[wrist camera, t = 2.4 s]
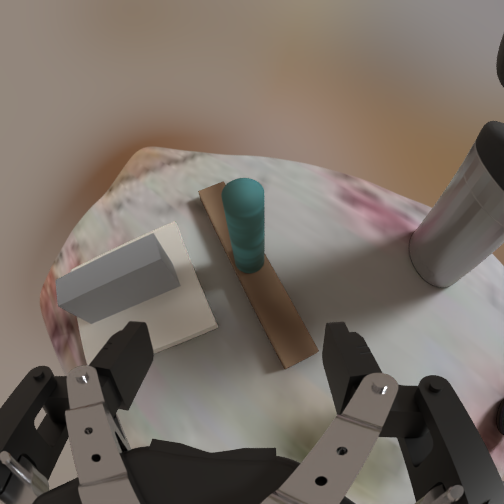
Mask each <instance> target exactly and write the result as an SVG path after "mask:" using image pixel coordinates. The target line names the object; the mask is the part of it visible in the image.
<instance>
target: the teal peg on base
mask: <svg viewBox="0 0 504 504" xmlns="http://www.w3.org/2000/svg"><path fill="white" fill-rule="evenodd" d="M198 192H199V195H200V199H201V201H202V203H203V205H204V207H205V210H206V212H207V214H208V216H209V218H210V220H211V222H212V224H213V227H214V229H215V231H216V233H217V235H218V237H219V239H220V241H221V243H222V245H223V247H224V250H225V252H226V254H227V256H228V258H229V260H230V262H231V264H232V266H233V268H234V270H235V272H236V274H237V276H238V278H239V280H240V282H241V284H242V286H243V288H244V290H245V292H246V294H247V296H248V298H249V300H250V302H251V304H252V306H253V308H254V310H255V312H256V314H257V316H258V318H259V320H260V322H261V324H262V326H263V328H264V330H265V332H266V334H267V336H268V338H269V340H270V342H271V344H272V346H273V348H274V350H275V352H276V354H277V356H278V357H279V359H280V361H281V363H282V365H283V367H284V369H287V368H289V367H291V366H293V365H295V364H297V363H299V362H301V361H302V360H304V359H306V358H308V357H310V356H312V355H314V354H316V353H317V352H319V350H318V348H317V347H316V345H315V343H314V341H313V339H312V338H311V336H310V334H309V332H308V330H307V328H306V327H305V325H304V323H303V321H302V319H301V318H300V316H299V314H298V312H297V310H296V309H295V307H294V305H293V303H292V301H291V300H290V298H289V296H288V294H287V292H286V291H285V289H284V287H283V285H282V283H281V282H280V280H279V278H278V276H277V275H276V273H275V271H274V269H273V267H272V266H271V264H270V262H269V260H268V258H267V257H266V255H265V253H264V189H263V187H262V186H261V184H260V183H258V182H257V181H255V180H253V179H249V178H239V179H235V180H233V181H231V182H229V183H228V184H227V185H225V183H224V181H223V182H221V183H218V184H216V185H213V186H210V187H208V188H205V189H203V190H200V191H198Z"/></svg>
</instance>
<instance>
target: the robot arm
mask: <svg viewBox="0 0 504 504" xmlns="http://www.w3.org/2000/svg"><path fill="white" fill-rule="evenodd" d="M496 67H497V75H498V78H499V80H500V83H501V85H502V86H503V87H504V34H503V37H502V40H501V43H500V47H499V51H498V56H497V66H496ZM503 243H504V123H501V122H497V121H490V122H488V123H486V124H485V125H484V127H483V128H482V130H481V132H480V133H479V135H478V137H477V139H476V141H475V143H474V144H473V146H472V148H471V149H470V151H469V153H468V155H467V156H466V158H465V160H464V162H463V163H462V165H461V166H460V168H459V170H458V171H457V173H456V175H455V176H454V177H453V179H452V181H451V182H450V184H449V185H448V187H447V188H446V190H445V191H444V192H443V194H442V196H441V197H440V198H439V200H438V201H437V203H436V204H435V206H434V207H433V208H432V210H431V211H430V212H429V214H428V215H427V216H426V218H425V219H424V220H423V222H422V223H421V224H420V226H419V227H418V228H417V229H416V231H415V232H414V233H413V235H412V237H411V239H410V244H409V251H410V257H411V260H412V262H413V265H414V267H415V268H416V270H417V272H418V273H419V274H420V275H421V277H422V278H424V279H425V280H426V281H427V282H428V283H430V284H432V285H434V286H436V287H442V288H444V287H449V286H451V285H453V284H454V283H455V282H457V281H458V280H459V279H461V278H462V277H463V276H465V275H466V274H467V273H469V272H470V271H471V270H472V269H474V268H475V267H476V266H477V265H479V264H480V263H481V262H482V261H483V260H485V259H486V258H487V257H488V256H489V255H490V254H492V253H493V252H494V251H495V250H496V249H497V248H498V247H499V246H500V245H502V244H503ZM153 357H154V352H153V347H152V343H151V339H150V335H149V331H148V327H147V324H146V323H145V322H137V321H129V322H128V323H127V325H126V326H125V327H124V328H123V330H122V331H121V330H120V331H118V332H117V333H115V334H114V335H112V336H111V337H110V338H109V340H108V341H107V342H106V344H105V345H104V346H103V347H102V349H101V350H100V351H99V352H98V354H97V355H96V356H95V358H94V359H93V360H92V362H91V363H90V364H89V365H88V366H86V365H84V366H79V367H76V368H74V369H72V370H71V371H70V372H69V373H68V375H67V376H54V375H53V373H52V371H51V369H50V368H49V367H47V366H39V367H36V368H34V369H32V370H31V371H30V372H29V373H28V374H27V375H26V376H25V378H24V379H23V380H22V381H21V382H20V384H19V385H18V386H17V387H16V389H15V390H14V391H13V393H12V394H11V395H10V396H9V398H8V399H7V401H6V402H5V403H4V404H3V406H2V407H1V408H0V504H355V503H354V502H352V501H351V500H349V499H348V498H347V497H345V495H346V493H347V491H348V490H349V488H350V487H351V485H352V484H353V482H354V480H355V479H356V477H357V475H358V474H359V472H360V470H361V468H362V467H363V465H364V463H365V461H366V460H367V458H368V456H369V454H370V452H371V450H372V448H373V446H374V444H375V442H376V440H377V438H378V437H397V439H398V442H399V445H400V448H401V451H402V454H403V457H404V460H405V464H406V467H407V470H408V474H409V477H410V481H411V484H412V488H413V492H414V495H415V499H416V503H415V504H504V485H503V482H502V480H501V477H500V475H499V473H498V471H497V468H496V466H495V464H494V462H493V460H492V458H491V456H490V454H489V452H488V450H487V448H486V446H485V444H484V442H483V440H482V438H481V436H480V434H479V432H478V430H477V429H476V427H475V425H474V423H473V421H472V420H471V418H470V416H469V414H468V413H467V411H466V409H465V408H464V406H463V404H462V402H461V401H460V399H459V397H458V396H457V394H456V393H455V391H454V389H453V388H452V386H451V385H450V383H449V382H448V381H447V380H446V379H444V378H443V377H440V376H436V375H430V376H426V377H424V378H423V379H422V380H421V381H420V383H419V385H418V386H403V385H398V383H397V381H396V380H395V379H394V378H393V377H391V376H390V375H387V374H384V373H382V371H381V369H380V368H379V366H378V364H377V362H376V360H375V358H374V356H373V355H372V353H371V351H370V349H369V347H367V344H366V342H365V340H364V338H363V337H361V336H360V335H359V334H358V333H356V332H349V331H348V329H347V327H346V325H345V323H344V322H334V323H327V324H326V328H325V336H324V344H323V352H322V360H323V366H324V369H325V373H326V376H327V380H328V383H329V387H330V390H331V394H332V397H333V401H334V405H335V408H336V412H337V416H336V417H335V419H334V420H333V421H332V423H331V424H330V426H329V427H328V429H327V430H326V431H325V433H324V434H323V436H322V437H321V438H320V440H319V441H318V442H317V444H316V445H315V446H314V447H313V449H312V450H311V451H310V453H309V454H308V455H307V456H306V458H305V459H304V460H303V461H302V463H299V462H297V461H294V460H292V459H288V458H285V457H280V456H276V448H242V449H236V450H230V451H223V452H215V453H209V452H205V451H202V450H199V449H196V448H193V447H190V446H187V445H184V444H181V443H175V442H169V441H163V440H157V439H152V441H151V444H150V446H146V447H139V448H134V449H131V447H130V445H129V443H128V441H127V438H126V436H125V433H124V431H123V428H122V426H121V423H120V420H119V418H118V415H117V414H116V412H117V410H118V409H123V410H129V408H130V406H131V404H132V402H133V400H134V398H135V396H136V394H137V392H138V390H139V388H140V386H141V384H142V382H143V380H144V378H145V376H146V374H147V372H148V370H149V368H150V366H151V364H152V361H153ZM42 407H43V409H44V410H45V412H46V413H47V414H46V416H45V417H44V419H43V421H42V422H41V424H40V426H39V427H38V429H37V430H36V428H35V426H34V420H35V417H36V416H37V414H38V413H39V411H40V410H41V408H42ZM68 437H69V440H70V445H71V449H72V454H73V459H74V463H75V467H76V471H77V474H78V477H77V478H75V479H73V480H71V481H69V482H67V483H65V484H63V485H61V486H58V487H56V488H54V489H52V490H49V483H48V480H49V477H50V475H51V473H52V471H53V468H54V466H55V464H56V462H57V460H58V458H59V456H60V454H61V451H62V450H63V447H64V445H65V443H66V441H67V439H68Z"/></svg>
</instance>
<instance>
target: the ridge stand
mask: <svg viewBox="0 0 504 504" xmlns="http://www.w3.org/2000/svg"><path fill="white" fill-rule="evenodd" d="M56 291H57V301H58V306H59V307H61V308H62V309H64V310H66V311H68V312H69V313H71V314H73V315H75V316H77V320H78V326H79V331H80V336H81V341H82V345H83V350H84V354H85V358H86V362H87V366H88V365H89V364H90V363H91V362H92V360H93V359H94V358H95V356H96V355H97V354H98V352H99V351H100V350H101V349H102V347H103V346H104V345H105V344H106V342H107V341H108V340H109V338H110V337H111V336H112V335H114V334H115V333H117V332H118V331H120V330H121V331H122V330H123V328H124V327H125V326H126V325H127V323H128V322H129V321H137V322H145V323H146V324H147V327H148V331H149V335H150V339H151V343H152V347H153V352H154V354H155V353H157V352H160V351H162V350H165V349H167V348H170V347H173V346H175V345H178V344H180V343H183V342H185V341H187V340H190V339H192V338H195V337H197V336H200V335H202V334H204V333H207V332H209V331H211V330H214V329H216V328H218V325H217V322H216V320H215V318H214V315H213V313H212V311H211V308H210V306H209V304H208V301H207V299H206V297H205V294H204V292H203V289H202V287H201V284H200V282H199V280H198V277H197V275H196V272H195V270H194V267H193V265H192V262H191V259H190V257H189V254H188V252H187V249H186V246H185V244H184V241H183V239H182V236H181V233H180V230H179V228H178V226H177V223H176V221H174V222H172V223H169V224H167V225H165V226H162V227H160V228H158V229H156V230H153V231H151V232H149V233H147V234H144V235H142V236H140V237H138V238H136V239H133V240H131V241H129V242H127V243H125V244H123V245H121V246H118V247H116V248H114V249H112V250H110V251H108V252H106V253H104V254H102V255H100V256H98V257H96V258H94V259H92V260H90V261H88V262H86V263H84V264H82V265H80V266H78V267H76V268H74V269H72V270H71V272H70V273H68V274H66V275H64V276H63V277H61V278H59V279H57V280H56Z"/></svg>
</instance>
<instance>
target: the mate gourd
mask: <svg viewBox="0 0 504 504" xmlns="http://www.w3.org/2000/svg"><path fill="white" fill-rule="evenodd" d="M497 426H498V430H499V431H500V433H501V434H503V435H504V399H503V401H502V403H501V405H500V408H499V410H498V414H497Z"/></svg>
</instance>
